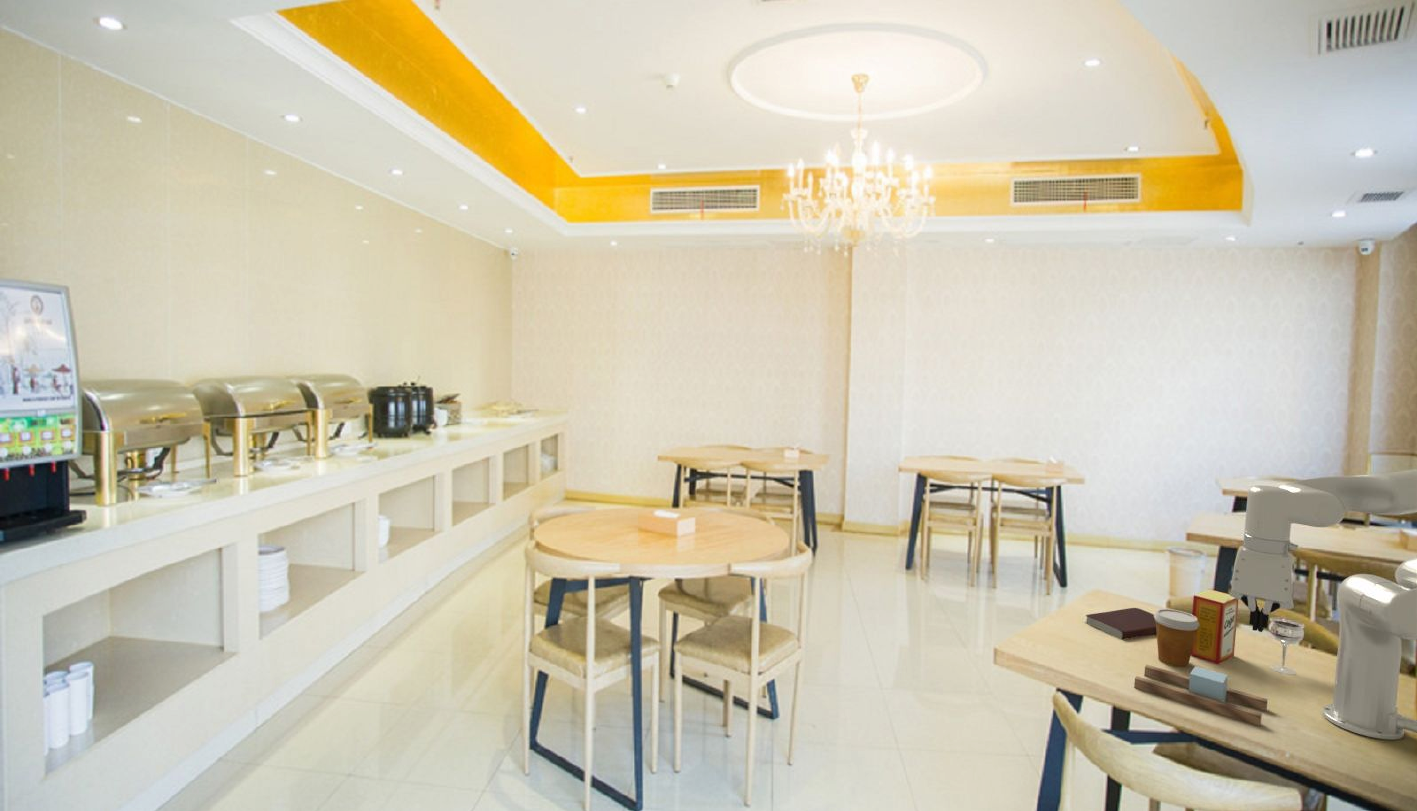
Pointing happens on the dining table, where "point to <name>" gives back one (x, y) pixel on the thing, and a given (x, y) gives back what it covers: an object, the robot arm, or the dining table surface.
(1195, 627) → the disposable coffee cup
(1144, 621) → the book
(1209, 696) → the block
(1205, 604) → the baking soda box
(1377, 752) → the dining table surface
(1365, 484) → the robot arm
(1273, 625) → the wineglass
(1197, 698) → the chute
